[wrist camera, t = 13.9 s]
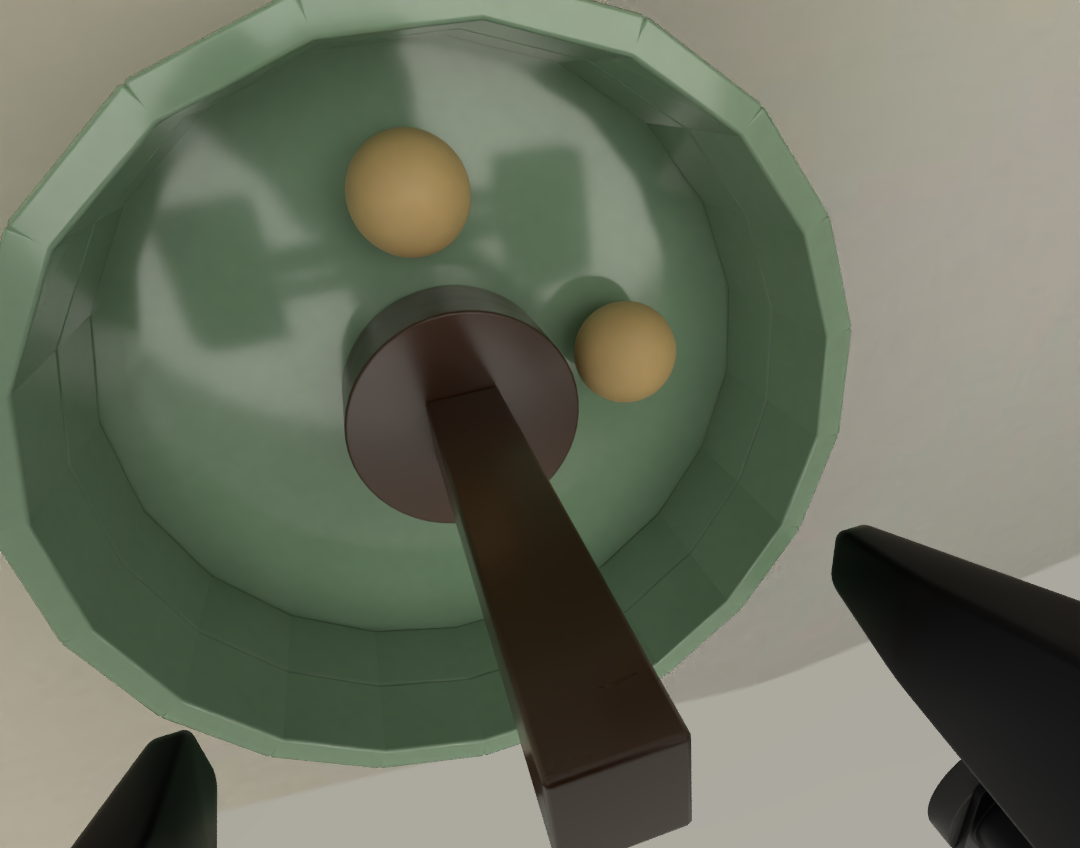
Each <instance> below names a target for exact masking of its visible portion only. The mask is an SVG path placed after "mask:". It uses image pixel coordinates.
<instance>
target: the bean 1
mask: <svg viewBox="0 0 1080 848" xmlns="http://www.w3.org/2000/svg"><path fill="white" fill-rule="evenodd" d="M345 199H346V203H347V207H348V211H349V213H350V216H351V218H352V220H353V222H354V224H355V225H356V227H357V229H358V230H359V231H360V233H361V234H362V235H363V236H364V237H365V238H366V239H367V240H368V241H369V242H370V243H372V244H373V245H374V246H376V247H377V248H379V249H380V250H382V251H384V252H386V253H389V254H391V255H394V256H398V257H404V258H419V257H425V256H429V255H432V254H434V253H437V252H439V251H441V250H442V249H444V248H445V247H447V246H448V245H449V244H451V243H452V242H453V241H454V240H455V239H456V238H457V236H458V235H459V233H460V232H461V231H462V229H463V227H464V225H465V223H466V221H467V218H468V215H469V211H470V206H471V187H470V182H469V178H468V174H467V172H466V169H465V167H464V165H463V163H462V161H461V160H460V158H459V156H458V155H457V154H456V152H455V151H454V150H453V149H452V148H451V147H450V146H449V145H448V144H447V143H446V142H445V141H443V140H442V139H441V138H439V137H437V136H436V135H434V134H432V133H430V132H427V131H425V130H422V129H418V128H413V127H395V128H390V129H386V130H383V131H381V132H378V133H377V134H375V135H373V136H371V137H370V138H369V139H367V140H366V141H365V142H364V143H363V144H362V145H361V146H360V147H359V149H358V150H357V151H356V153H355V154H354V156H353V157H352V159H351V161H350V164H349V167H348V169H347V173H346V178H345Z"/></svg>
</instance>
